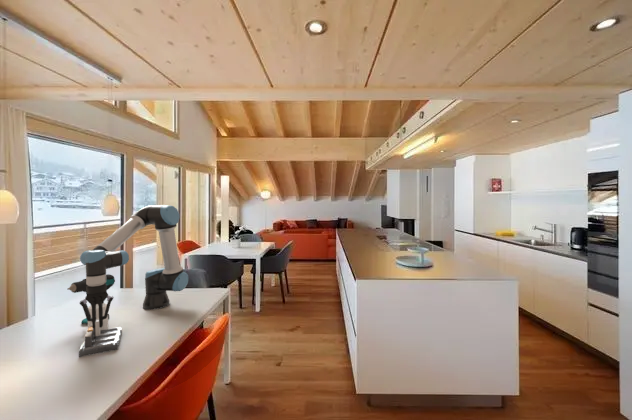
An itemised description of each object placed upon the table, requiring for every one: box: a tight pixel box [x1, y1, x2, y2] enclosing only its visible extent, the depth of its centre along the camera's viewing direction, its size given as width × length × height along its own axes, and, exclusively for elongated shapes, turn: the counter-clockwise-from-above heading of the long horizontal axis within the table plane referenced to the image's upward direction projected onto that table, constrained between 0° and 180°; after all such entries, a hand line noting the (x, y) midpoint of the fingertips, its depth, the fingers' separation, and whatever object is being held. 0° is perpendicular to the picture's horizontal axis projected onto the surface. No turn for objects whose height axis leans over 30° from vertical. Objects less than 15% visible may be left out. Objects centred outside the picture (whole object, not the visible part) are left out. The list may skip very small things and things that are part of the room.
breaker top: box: [84, 331, 93, 347], centre depth 135 cm, size 2×4×5 cm, turn 28°
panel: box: [78, 326, 123, 358], centre depth 143 cm, size 14×20×3 cm
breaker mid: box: [86, 327, 94, 341], centre depth 141 cm, size 2×4×5 cm, turn 27°
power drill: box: [67, 273, 116, 325], centre depth 169 cm, size 26×9×25 cm, turn 169°
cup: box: [87, 302, 109, 330], centre depth 154 cm, size 8×8×14 cm
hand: (98, 334), depth 142 cm, fingers closed
